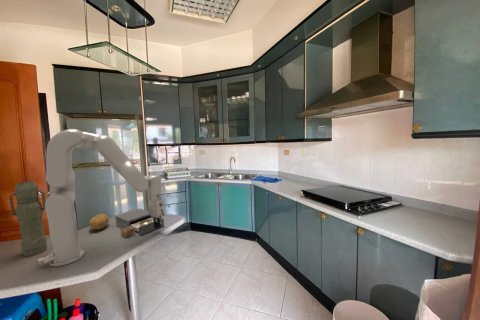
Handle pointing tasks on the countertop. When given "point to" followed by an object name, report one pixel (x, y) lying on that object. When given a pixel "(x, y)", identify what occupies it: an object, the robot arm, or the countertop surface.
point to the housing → (131, 217)
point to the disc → (145, 222)
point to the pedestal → (128, 232)
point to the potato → (99, 221)
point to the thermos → (30, 217)
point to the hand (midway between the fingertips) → (157, 227)
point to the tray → (145, 226)
